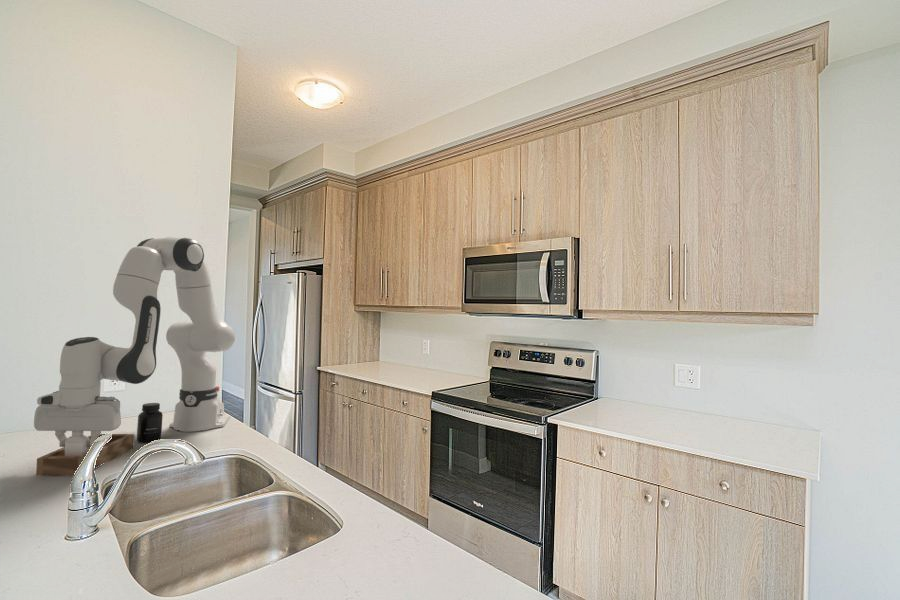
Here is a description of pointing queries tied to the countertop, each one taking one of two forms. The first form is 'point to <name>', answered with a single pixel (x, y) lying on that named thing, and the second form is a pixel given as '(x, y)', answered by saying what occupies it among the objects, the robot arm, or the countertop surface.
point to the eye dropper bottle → (76, 444)
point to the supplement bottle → (149, 423)
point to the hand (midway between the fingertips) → (77, 446)
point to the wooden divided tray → (68, 464)
